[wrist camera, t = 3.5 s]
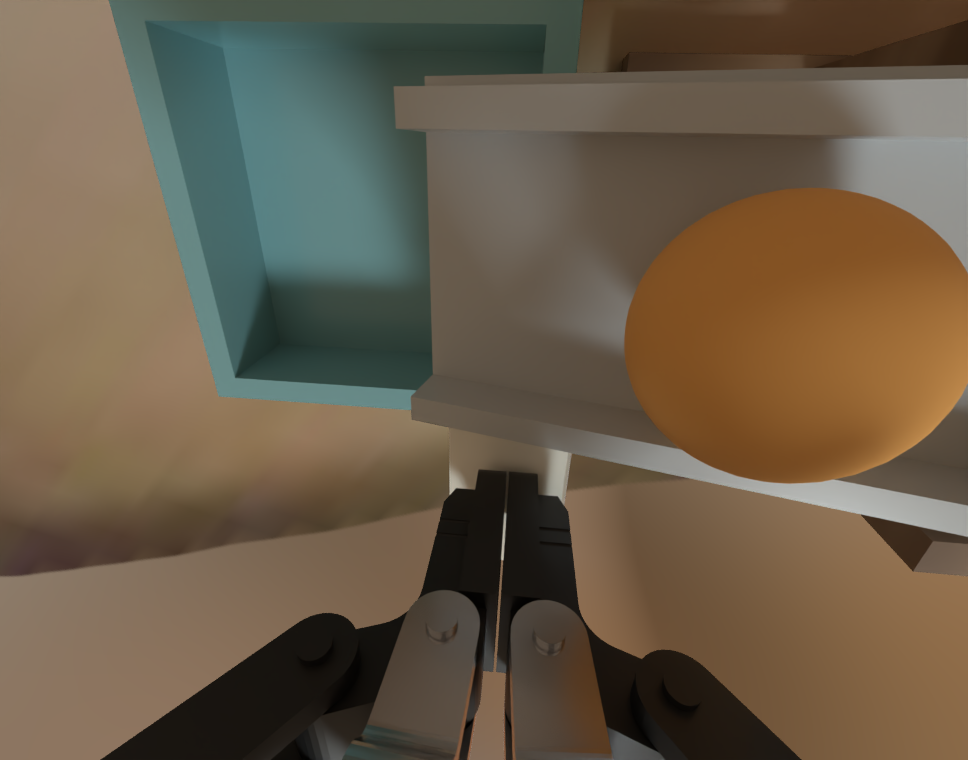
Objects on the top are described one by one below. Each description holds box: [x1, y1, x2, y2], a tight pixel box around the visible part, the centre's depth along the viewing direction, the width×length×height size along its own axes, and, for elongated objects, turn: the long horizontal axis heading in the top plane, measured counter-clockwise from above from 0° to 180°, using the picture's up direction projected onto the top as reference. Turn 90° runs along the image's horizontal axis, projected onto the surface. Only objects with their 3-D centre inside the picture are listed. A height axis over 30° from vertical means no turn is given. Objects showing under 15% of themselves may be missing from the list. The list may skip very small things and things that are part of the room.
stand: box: [622, 20, 968, 576], centre depth 11 cm, size 12×10×10 cm
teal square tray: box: [109, 0, 584, 410], centre depth 15 cm, size 12×12×4 cm
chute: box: [394, 65, 968, 560], centre depth 11 cm, size 17×12×10 cm
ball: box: [624, 188, 968, 484], centre depth 6 cm, size 4×4×4 cm
